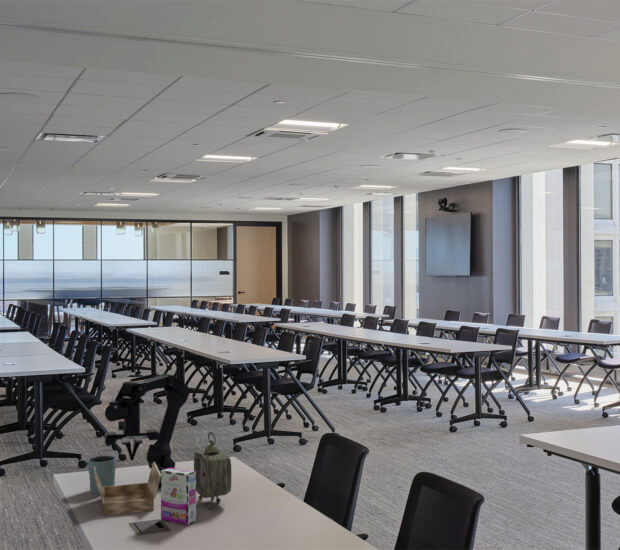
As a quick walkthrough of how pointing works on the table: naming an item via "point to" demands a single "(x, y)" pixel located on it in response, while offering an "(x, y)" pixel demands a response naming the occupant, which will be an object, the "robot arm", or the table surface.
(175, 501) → the candy bar box
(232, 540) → the table surface
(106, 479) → the teal cup
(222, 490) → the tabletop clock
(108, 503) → the carton
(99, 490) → the flap
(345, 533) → the table surface
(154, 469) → the flap
